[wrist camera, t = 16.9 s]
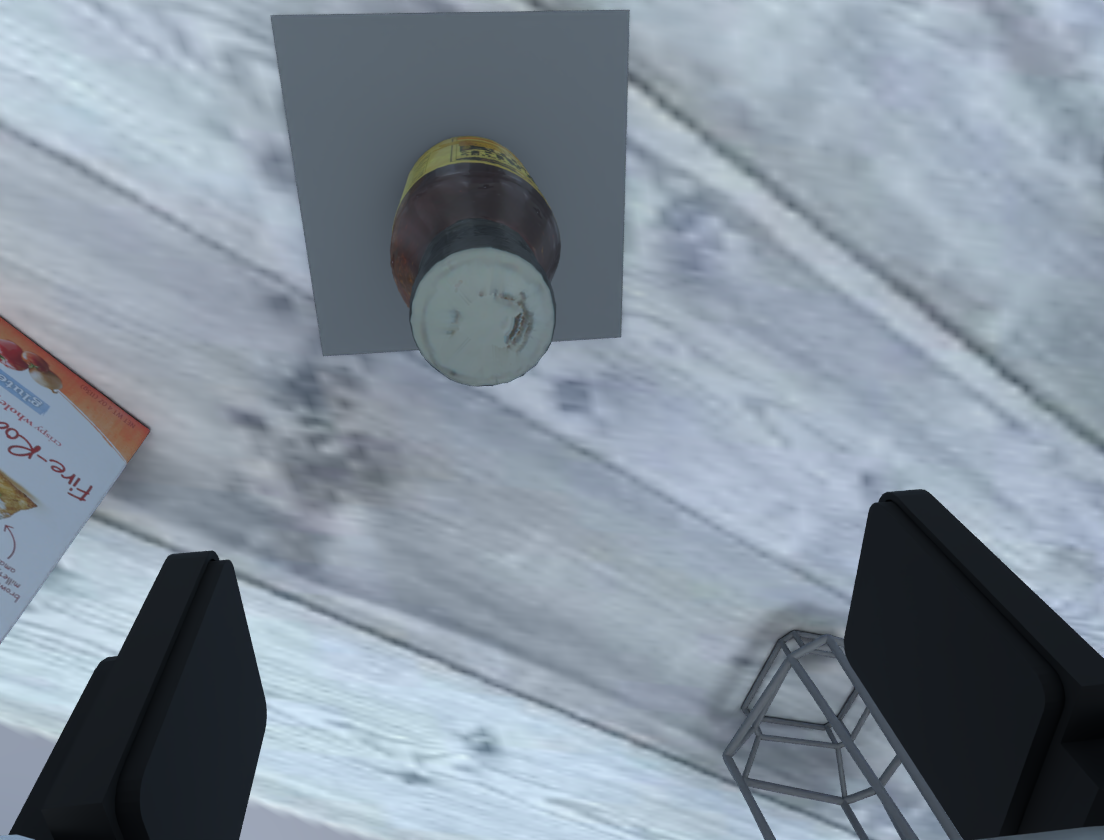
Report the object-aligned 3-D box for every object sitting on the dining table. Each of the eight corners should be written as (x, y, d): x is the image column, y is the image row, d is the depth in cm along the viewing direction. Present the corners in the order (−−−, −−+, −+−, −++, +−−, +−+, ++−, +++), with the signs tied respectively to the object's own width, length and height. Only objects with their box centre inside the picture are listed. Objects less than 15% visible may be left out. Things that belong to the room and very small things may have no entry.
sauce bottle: (555, 202, 40) (659, 340, 22) (464, 284, 41) (494, 477, 24) (466, 96, 37) (505, 159, 20) (371, 187, 39) (327, 323, 21)
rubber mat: (626, 9, 37) (629, 9, 37) (618, 333, 44) (621, 337, 44) (273, 15, 35) (270, 15, 35) (324, 352, 43) (323, 356, 42)
